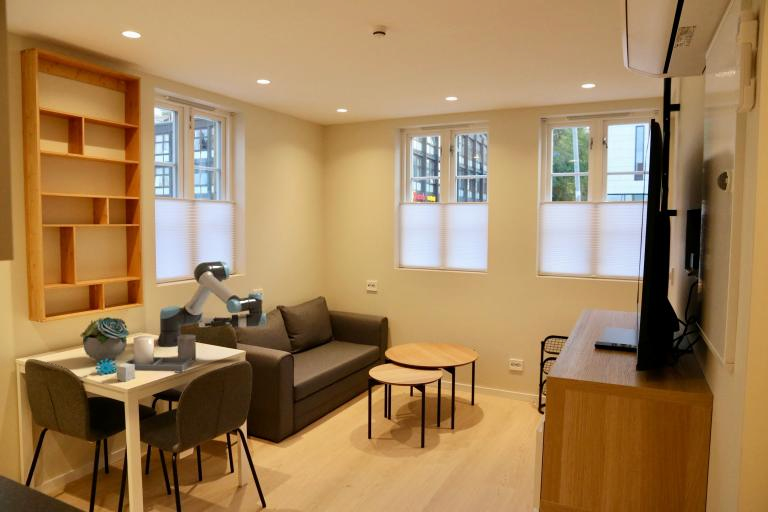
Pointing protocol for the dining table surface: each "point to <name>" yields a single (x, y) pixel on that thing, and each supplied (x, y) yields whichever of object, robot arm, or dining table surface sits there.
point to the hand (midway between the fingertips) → (200, 322)
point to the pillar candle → (187, 346)
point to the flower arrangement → (105, 338)
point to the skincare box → (125, 372)
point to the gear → (106, 367)
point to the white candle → (144, 350)
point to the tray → (165, 364)
